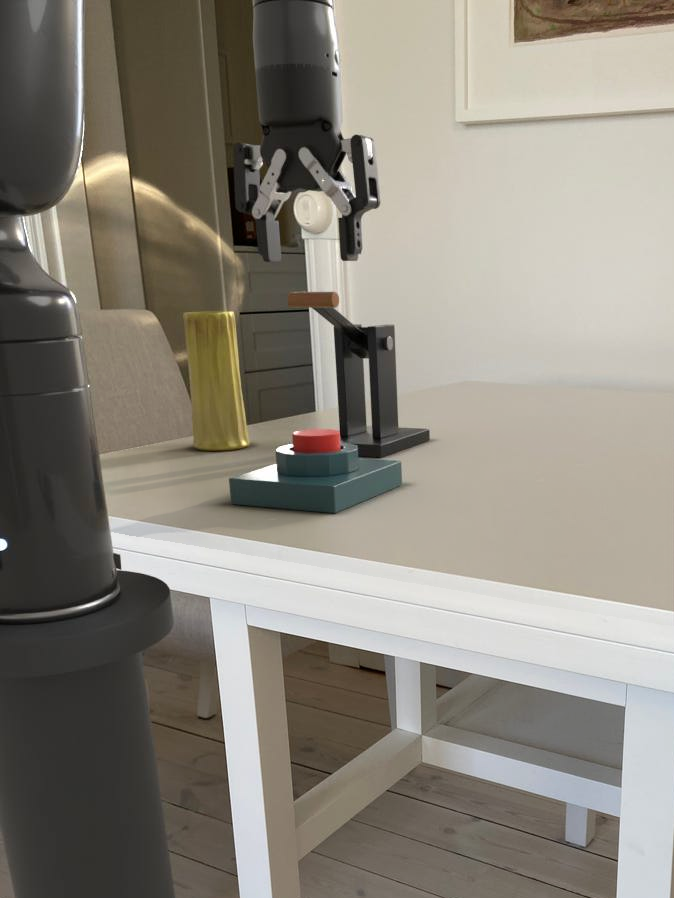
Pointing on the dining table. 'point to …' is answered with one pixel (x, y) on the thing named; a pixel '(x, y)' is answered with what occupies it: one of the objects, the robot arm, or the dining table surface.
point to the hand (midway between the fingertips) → (310, 261)
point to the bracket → (383, 392)
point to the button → (316, 440)
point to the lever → (332, 317)
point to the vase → (215, 381)
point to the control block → (316, 480)
